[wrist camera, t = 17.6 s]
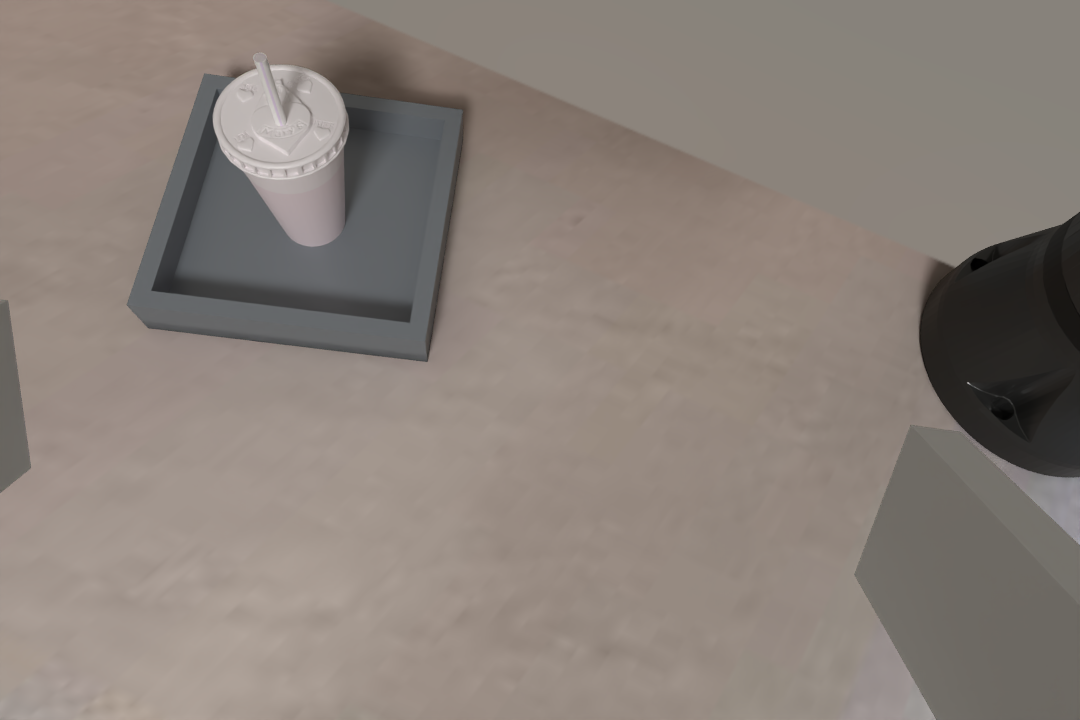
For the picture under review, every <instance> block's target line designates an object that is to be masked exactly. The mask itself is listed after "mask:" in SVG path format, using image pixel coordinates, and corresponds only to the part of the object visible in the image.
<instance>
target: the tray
mask: <svg viewBox="0 0 1080 720" xmlns="http://www.w3.org/2000/svg"><path fill="white" fill-rule="evenodd" d="M235 79H236V78H233V77H225V76H218V75H211V74H204V76H203V79H202V82H201V85H200V88H199V91H198V94H197V97H196V100H195V103H194V106H193V109H192V112H191V115H190V118H189V121H188V124H187V127H186V130H185V133H184V136H183V139H182V142H181V145H180V148H179V151H178V154H177V157H176V160H175V163H174V166H173V169H172V172H171V175H170V178H169V181H168V183H167V186H166V189H165V192H164V195H163V198H162V201H161V204H160V207H159V210H158V213H157V216H156V219H155V222H154V225H153V228H152V231H151V234H150V237H149V240H148V243H147V246H146V249H145V252H144V255H143V258H142V261H141V264H140V267H139V270H138V273H137V276H136V279H135V282H134V285H133V288H132V291H131V294H130V297H129V300H128V303H127V306H128V307H129V308H130V309H131V310H132V311H133V312H134V313H135V314H136V316H137V317H138V318H139V319H140V320H141V321H142V322H143V323H144V324H145V325H146V326H147V327H148V328H152V329H160V330H168V331H177V332H185V333H193V334H202V335H210V336H218V337H226V338H235V339H243V340H251V341H259V342H268V343H276V344H284V345H292V346H301V347H309V348H317V349H326V350H334V351H342V352H350V353H359V354H367V355H375V356H383V357H392V358H400V359H408V360H416V361H425V362H427V361H428V354H429V348H430V342H431V336H432V329H433V323H434V317H435V311H436V304H437V298H438V292H439V286H440V279H441V273H442V267H443V261H444V254H445V248H446V242H447V236H448V229H449V223H450V217H451V211H452V204H453V198H454V192H455V186H456V179H457V173H458V167H459V161H460V154H461V148H462V142H463V110H460V109H453V108H446V107H439V106H432V105H425V104H418V103H410V102H403V101H396V100H389V99H382V98H375V97H368V96H361V95H354V94H346V93H340V95H341V97H342V99H343V102H344V105H345V109H346V112H347V114H348V119H349V132H348V136H347V140H346V144H345V145H344V182H345V226H344V228H343V230H342V232H341V234H340V235H339V236H338V237H337V238H336V239H335V240H333V241H332V242H330V243H328V244H325V245H322V246H316V247H310V246H304V245H301V244H298V243H296V242H295V241H293V240H292V239H291V238H290V237H289V236H288V235H287V234H286V232H285V231H284V229H283V228H282V226H281V225H280V223H279V222H278V220H277V219H276V218H275V216H274V215H273V213H272V212H271V210H270V209H269V207H268V206H267V205H266V203H265V202H264V200H263V199H262V197H261V196H260V194H259V193H258V191H257V190H256V189H255V187H254V186H253V184H252V183H251V181H250V180H249V178H248V177H247V176H246V174H245V173H244V171H242V170H241V169H239V168H238V167H237V166H235V165H234V164H233V163H231V162H230V161H229V159H228V158H227V157H226V155H225V154H224V153H223V151H222V150H221V147H220V144H219V141H218V138H217V136H216V133H215V130H214V126H213V112H214V107H215V104H216V102H217V99H218V98H219V96H220V94H221V93H222V91H223V90H224V89H225V88H226V87H227V86H228V85H229V84H230V83H231V82H232V81H233V80H235Z"/></svg>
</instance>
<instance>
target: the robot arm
mask: <svg viewBox="0 0 1080 720" xmlns="http://www.w3.org/2000/svg"><path fill="white" fill-rule="evenodd" d="M921 347H922V353H923V358H924V362H925V366H926V369H927V372H928V375H929V377H930V380H931V382H932V384H933V387H934V389H935V390H936V392H937V394H938V396H939V398H940V399H941V401H942V403H943V404H944V406H945V407H946V408H947V410H948V411H949V413H950V414H951V415H952V416H953V418H954V419H955V420H956V421H957V422H958V423H959V425H960V426H961V427H962V428H963V429H964V430H965V431H966V432H967V433H968V434H969V435H970V436H972V437H973V438H974V439H975V440H976V441H977V442H979V443H980V444H981V445H982V446H984V447H985V448H986V449H988V450H989V451H991V452H992V453H994V454H995V455H997V456H999V457H1000V458H1002V459H1004V460H1006V461H1008V462H1010V463H1012V464H1014V465H1016V466H1018V467H1021V468H1023V469H1026V470H1029V471H1032V472H1036V473H1039V474H1044V475H1049V476H1055V477H1080V212H1079V213H1078V214H1077V215H1075V216H1074V217H1072V218H1071V219H1069V220H1068V221H1067V222H1065V223H1064V224H1062V225H1059V226H1056V227H1052V228H1049V229H1045V230H1042V231H1039V232H1035V233H1032V234H1029V235H1026V236H1023V237H1019V238H1016V239H1012V240H1009V241H1006V242H1003V243H999V244H996V245H993V246H990V247H988V248H985V249H983V250H981V251H979V252H977V253H976V254H974V255H972V256H970V257H969V258H968V259H966V260H965V261H964V262H962V263H961V264H960V265H959V266H957V267H956V268H955V269H954V270H952V271H951V272H950V273H949V274H947V275H946V276H945V277H944V278H943V279H942V280H941V281H940V282H939V283H938V284H937V286H936V287H935V288H934V290H933V291H932V293H931V295H930V297H929V299H928V301H927V303H926V306H925V309H924V313H923V317H922V323H921ZM30 468H31V463H30V456H29V449H28V441H27V434H26V427H25V420H24V412H23V405H22V398H21V391H20V384H19V376H18V369H17V362H16V355H15V347H14V340H13V333H12V326H11V318H10V311H9V304H8V300H0V493H1V492H2V491H3V490H5V489H6V488H7V487H8V486H9V485H11V484H12V483H13V482H14V481H16V480H17V479H18V478H19V477H21V476H22V475H23V474H24V473H26V472H27V471H28V470H29V469H30ZM854 575H855V577H856V578H857V580H858V582H859V584H860V586H861V587H862V589H863V591H864V593H865V594H866V596H867V598H868V600H869V601H870V603H871V605H872V607H873V608H874V610H875V612H876V614H877V616H878V617H879V619H880V621H881V623H882V624H883V626H884V628H885V630H886V631H887V633H888V635H889V637H890V639H891V640H892V642H893V644H894V646H895V647H896V649H897V651H898V653H899V654H900V656H901V658H902V660H903V662H904V663H905V665H906V667H907V669H908V670H909V672H910V674H911V676H912V677H913V679H914V681H915V683H916V684H917V686H918V688H919V690H920V692H921V693H922V695H923V697H924V699H925V700H926V702H927V704H928V706H929V707H930V709H931V711H932V713H933V715H934V716H935V718H936V720H1080V545H1079V544H1078V543H1077V542H1076V541H1075V540H1074V539H1072V538H1071V537H1070V536H1069V535H1068V534H1067V533H1066V532H1065V531H1064V530H1063V529H1062V528H1061V527H1060V526H1059V525H1058V524H1057V523H1056V522H1055V521H1054V520H1053V519H1052V518H1050V517H1049V516H1048V515H1047V514H1046V513H1045V512H1044V511H1043V510H1042V509H1041V508H1040V507H1039V506H1038V505H1037V504H1036V503H1035V502H1034V501H1033V500H1032V499H1031V498H1029V497H1028V496H1027V495H1026V494H1025V493H1024V492H1023V491H1022V490H1021V489H1020V488H1019V487H1018V486H1017V485H1016V484H1015V483H1014V482H1013V481H1012V480H1011V479H1010V478H1009V477H1007V476H1006V475H1005V474H1004V473H1003V472H1002V471H1001V470H1000V469H999V468H998V467H997V466H996V465H995V464H994V463H993V462H992V461H991V460H990V459H989V458H988V457H986V456H985V455H984V454H983V453H982V452H981V451H980V450H979V449H978V448H977V447H976V446H975V445H974V444H973V443H972V442H971V441H970V440H969V439H968V438H967V437H966V436H964V435H963V434H962V433H961V432H958V431H950V430H943V429H936V428H929V427H921V426H914V425H910V428H909V431H908V433H907V436H906V439H905V441H904V444H903V447H902V449H901V452H900V455H899V457H898V460H897V463H896V465H895V468H894V470H893V473H892V476H891V478H890V481H889V484H888V486H887V489H886V492H885V494H884V497H883V500H882V502H881V505H880V508H879V510H878V513H877V516H876V518H875V521H874V524H873V526H872V529H871V532H870V534H869V537H868V540H867V542H866V545H865V548H864V550H863V553H862V556H861V558H860V561H859V563H858V566H857V569H856V571H855V574H854Z"/></svg>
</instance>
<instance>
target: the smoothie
mask: <svg viewBox="0 0 1080 720" xmlns="http://www.w3.org/2000/svg"><path fill="white" fill-rule="evenodd" d="M253 59H254V62H255V65H256V69H253V70H251V71H248V72H246V73H244V74H242V75H240V76H239V77H237V78H236V79H235V80H233V81H232V82H231V83H230V84H229V85H228V86H227V87H226V88H225V89H224V90H223V91H222V93H221V94H220V96H219V98H218V99H217V102H216V104H215V107H214V112H213V126H214V130H215V133H216V136H217V138H218V141H219V144H220V147H221V150H222V151H223V153H224V154H225V155H226V157H227V158H228V159H229V161H230V162H231V163H233V164H234V165H235V166H237V167H238V168H239V169H241V170H242V171H244V173H245V174H246V176H247V177H248V178H249V180H250V181H251V183H252V184H253V186H254V187H255V189H256V190H257V191H258V193H259V194H260V196H261V197H262V199H263V200H264V202H265V203H266V205H267V206H268V207H269V209H270V210H271V212H272V213H273V215H274V216H275V218H276V219H277V220H278V222H279V223H280V225H281V226H282V228H283V229H284V231H285V232H286V234H287V235H288V236H289V237H290V238H291V239H292V240H293V241H295V242H296V243H298V244H301V245H304V246H310V247H316V246H322V245H325V244H328V243H330V242H332V241H333V240H335V239H336V238H337V237H338V236H339V235H340V234H341V232H342V230H343V228H344V226H345V182H344V145H345V144H346V140H347V136H348V132H349V119H348V114H347V112H346V109H345V105H344V102H343V99H342V97H341V95H340V93H339V91H338V90H337V89H336V87H335V86H334V85H333V84H332V83H331V82H330V81H329V80H328V79H326V78H325V77H324V76H322V75H320V74H319V73H317V72H315V71H313V70H310V69H307V68H304V67H300V66H295V65H285V64H279V65H269V63H268V60H267V57H266V55H265V54H264V53H256V54H255V55H254V56H253Z"/></svg>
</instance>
